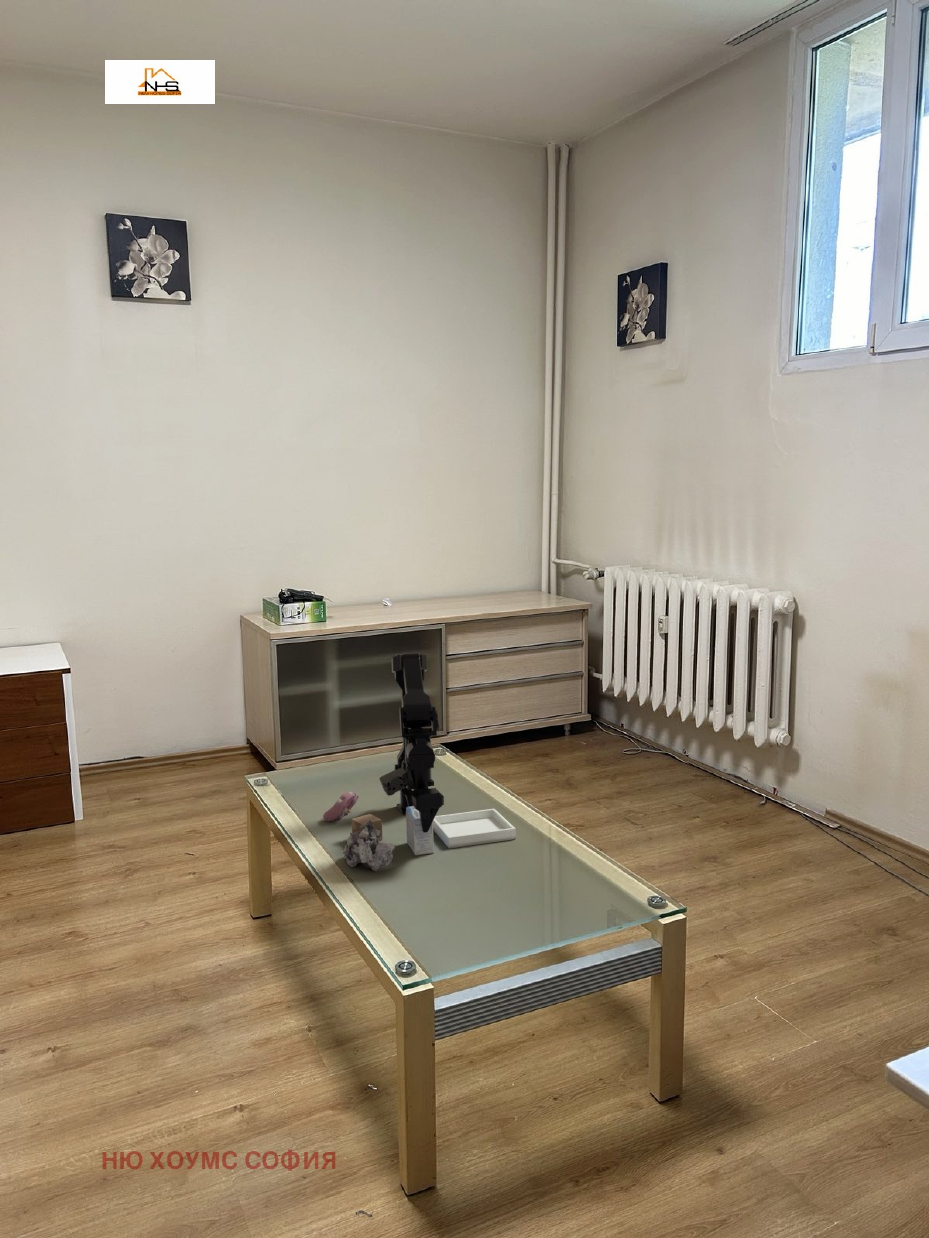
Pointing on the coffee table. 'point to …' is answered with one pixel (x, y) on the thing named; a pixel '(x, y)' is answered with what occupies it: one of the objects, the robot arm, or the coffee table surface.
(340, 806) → the pink crystal rock
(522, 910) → the coffee table surface
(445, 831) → the tray
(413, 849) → the medicine box
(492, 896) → the coffee table surface
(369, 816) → the walnut block
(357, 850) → the mineral specimen
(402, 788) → the robot arm
